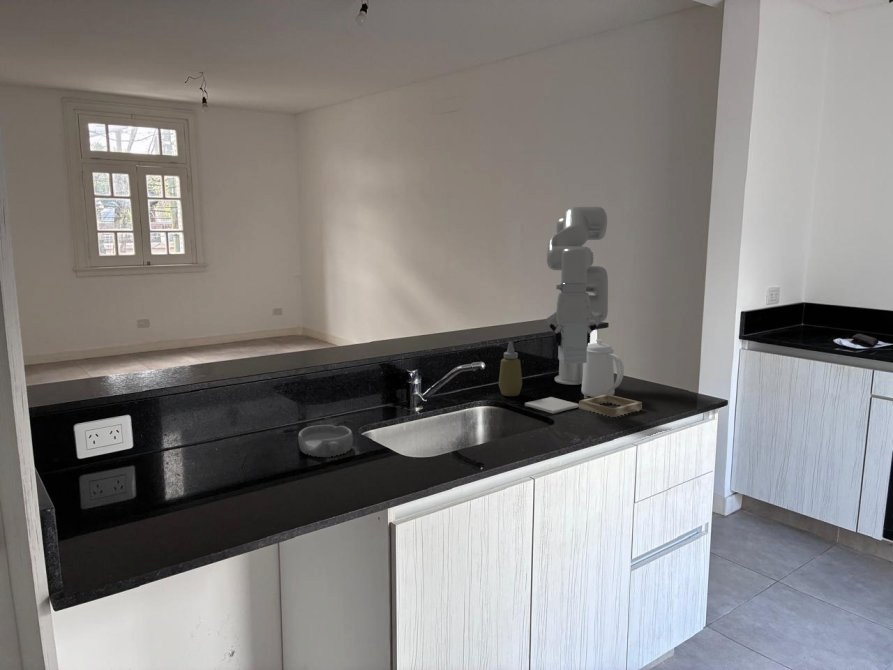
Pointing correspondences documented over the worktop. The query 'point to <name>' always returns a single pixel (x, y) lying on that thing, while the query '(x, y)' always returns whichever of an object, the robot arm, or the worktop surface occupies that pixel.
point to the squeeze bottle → (510, 373)
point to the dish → (325, 440)
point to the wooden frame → (624, 408)
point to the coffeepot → (601, 370)
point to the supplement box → (573, 343)
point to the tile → (552, 405)
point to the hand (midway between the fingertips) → (572, 345)
